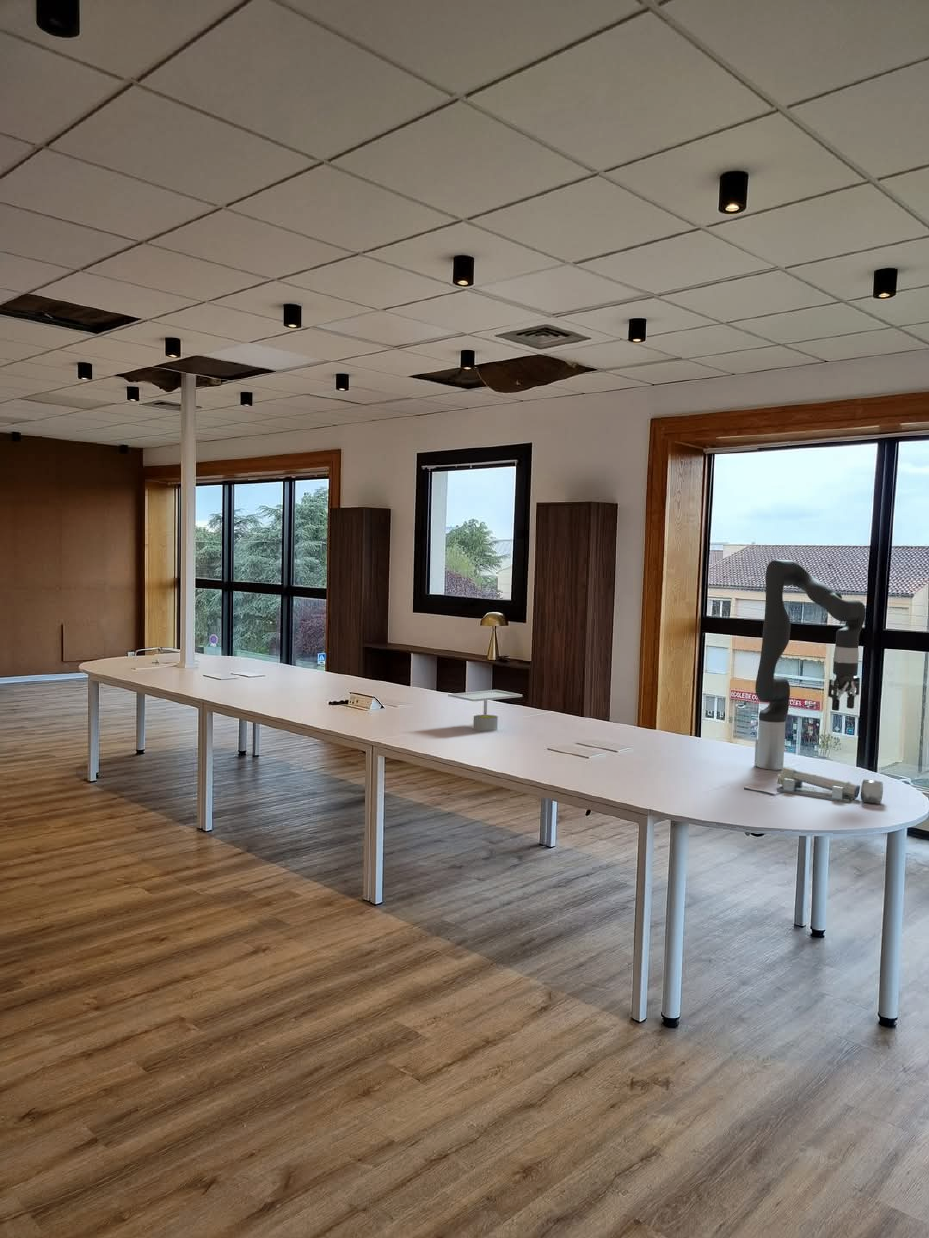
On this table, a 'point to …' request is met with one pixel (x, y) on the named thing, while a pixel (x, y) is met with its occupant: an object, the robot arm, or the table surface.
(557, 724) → the table surface
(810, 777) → the white handheld massager
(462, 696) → the grey flat rectangular-topped stand
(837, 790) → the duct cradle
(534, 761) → the table surface
